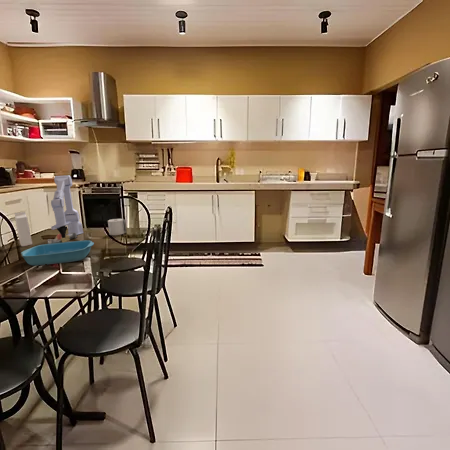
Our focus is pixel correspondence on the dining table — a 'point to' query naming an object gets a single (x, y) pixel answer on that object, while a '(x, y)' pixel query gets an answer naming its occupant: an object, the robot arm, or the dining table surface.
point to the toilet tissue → (117, 226)
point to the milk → (23, 229)
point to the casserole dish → (57, 252)
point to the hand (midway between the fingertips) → (63, 237)
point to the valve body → (62, 239)
